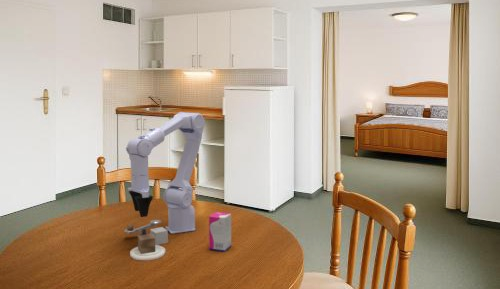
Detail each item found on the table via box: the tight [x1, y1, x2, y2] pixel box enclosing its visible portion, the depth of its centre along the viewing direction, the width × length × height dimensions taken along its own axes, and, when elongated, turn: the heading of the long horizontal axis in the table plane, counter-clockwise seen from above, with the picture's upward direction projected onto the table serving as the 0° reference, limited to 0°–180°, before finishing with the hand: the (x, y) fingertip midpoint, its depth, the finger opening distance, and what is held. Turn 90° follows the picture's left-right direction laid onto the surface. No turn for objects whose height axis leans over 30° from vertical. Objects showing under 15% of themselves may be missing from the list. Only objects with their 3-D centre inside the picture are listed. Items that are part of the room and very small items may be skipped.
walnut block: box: [137, 233, 155, 254], centre depth 144 cm, size 4×4×4 cm
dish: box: [129, 245, 166, 262], centre depth 145 cm, size 11×11×1 cm
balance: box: [124, 219, 162, 239], centre depth 161 cm, size 13×4×5 cm, turn 116°
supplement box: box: [208, 211, 232, 253], centre depth 150 cm, size 6×6×12 cm
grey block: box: [149, 226, 169, 246], centre depth 155 cm, size 4×4×4 cm
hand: (141, 213), depth 154 cm, fingers open, 7 cm apart
